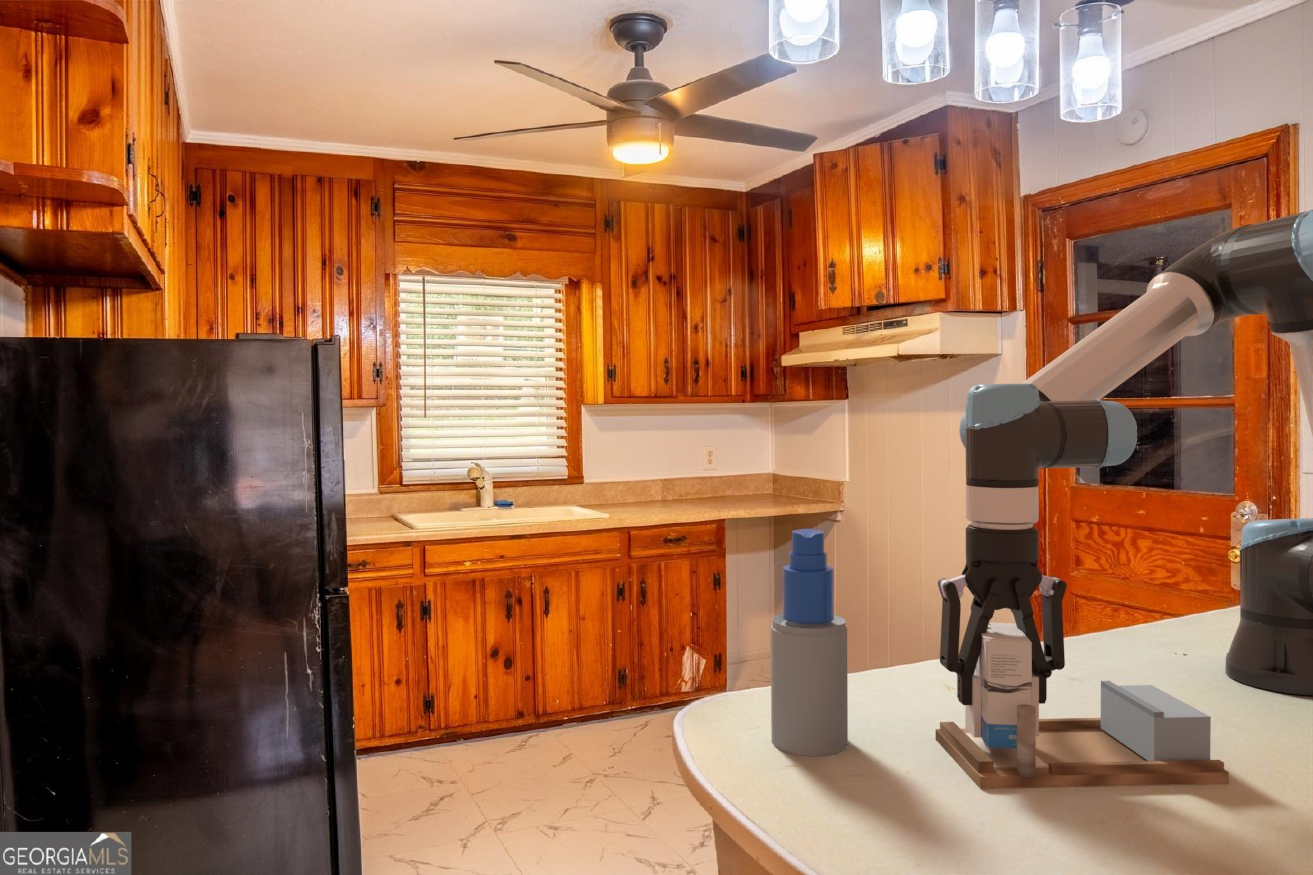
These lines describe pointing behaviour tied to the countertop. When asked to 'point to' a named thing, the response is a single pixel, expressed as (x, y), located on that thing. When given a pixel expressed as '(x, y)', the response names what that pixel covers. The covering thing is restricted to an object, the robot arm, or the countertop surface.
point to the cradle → (1067, 757)
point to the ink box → (1003, 682)
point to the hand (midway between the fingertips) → (1001, 732)
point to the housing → (1154, 723)
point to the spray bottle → (809, 656)
